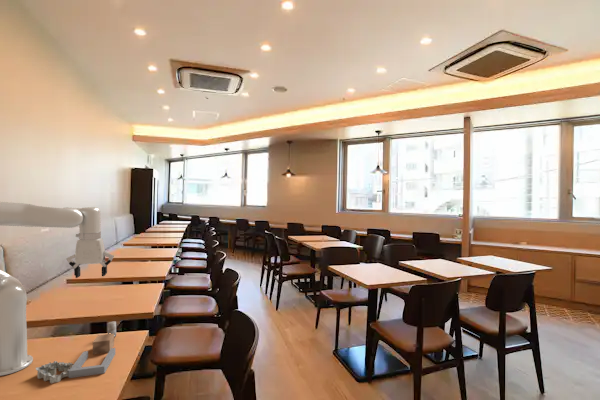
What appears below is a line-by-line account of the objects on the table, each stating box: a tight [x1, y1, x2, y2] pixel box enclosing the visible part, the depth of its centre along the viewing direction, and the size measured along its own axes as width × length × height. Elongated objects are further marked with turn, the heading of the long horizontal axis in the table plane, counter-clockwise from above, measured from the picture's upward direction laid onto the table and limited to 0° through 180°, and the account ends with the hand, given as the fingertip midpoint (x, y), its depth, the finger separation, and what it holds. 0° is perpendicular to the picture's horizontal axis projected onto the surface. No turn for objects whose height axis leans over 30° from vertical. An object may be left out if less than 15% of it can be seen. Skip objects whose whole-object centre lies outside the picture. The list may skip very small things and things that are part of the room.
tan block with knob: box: [92, 320, 117, 355], centre depth 133 cm, size 6×16×6 cm, turn 16°
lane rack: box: [68, 347, 116, 379], centre depth 118 cm, size 11×14×2 cm
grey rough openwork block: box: [35, 360, 74, 384], centre depth 111 cm, size 11×8×4 cm
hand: (91, 276), depth 134 cm, fingers open, 9 cm apart
